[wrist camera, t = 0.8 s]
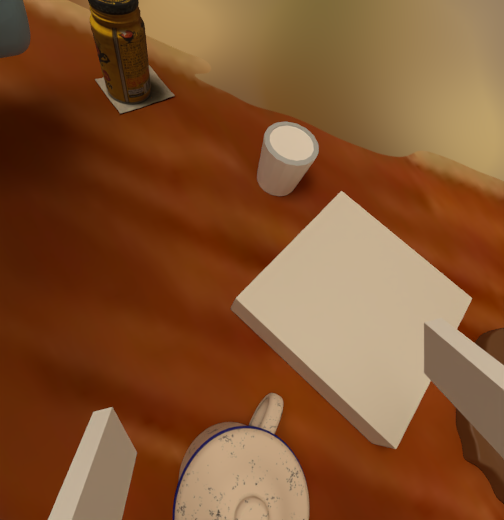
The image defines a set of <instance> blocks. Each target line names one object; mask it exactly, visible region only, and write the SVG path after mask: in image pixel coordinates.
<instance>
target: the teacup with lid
mask: <svg viewBox="0 0 504 520" xmlns="http://www.w3.org/2000/svg"><path fill="white" fill-rule="evenodd" d="M282 411H283V399H282V398H281V397H280V396H279V395H277V394H275V393H270V394H268V395H267V396H265V397H264V399H263V400H262V401H261V402H260V404H259V405H258V407H257V409H256V411H255V412H254V414H253V417H252V419H251V421H250V423H249V425H248V426H247V425H244V424H241V423H237V422H223V423H219V424H216V425H213V426H211V427H209V428H208V429H206V430H205V431H203V432H202V433H201V434H200V435H198V437H197V438H196V439H195V440H194V441H193V442H192V444H191V445H190V446H189V448H188V450H187V452H186V454H185V456H184V458H183V461H182V464H181V468H180V473H179V482H178V485H177V489H176V493H175V498H174V505H173V520H309V495H308V488H307V483H306V479H305V476H304V473H303V470H302V468H301V465H300V463H299V461H298V459H297V458H296V456H295V455H294V453H293V452H292V450H291V449H290V448H289V447H288V445H287V444H286V443H285V442H284V441H283V440H281V439H280V438H279V437H278V436H276V435H275V432H276V429H277V427H278V424H279V422H280V419H281V415H282Z"/></svg>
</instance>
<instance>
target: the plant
mask: <svg viewBox="0 0 504 520" xmlns="http://www.w3.org/2000/svg"><path fill="white" fill-rule="evenodd" d="M475 344H476V345H478V346H479V347H480V348H482V349H483V350H484V351H486V352H487V353H488V354H490V355H491V356H492V357H493V358H495V359H496V360H497V361H499V362H500V363H501V364H503V365H504V328H500V329H495V330H491V331H488V332H486V333H484V334H482V335H481V336H479V338H478V339H477V340H476V343H475ZM456 427H457V431H458V433H459V436H460V439H461V443H462V449H463V456H464V459H465V460H467V461H468V462H470V463H472V464H474V465H476V466H477V467H478V468H479V469H480V470H481V471H482V472H483V473H484V474H485V476H486V477H487V479H488V480H489V482H490V484H491V486H492V489H493V491H494V493H495V495H496V497H497V498H498V499H499V500H500V501H501V502H502V503H504V459H503V458H502V457H501V455H500V454H499V453H498V452H497V451H496V450H495V449H494V448H493V447H492V446H491V445H490V444H489V442H488V441H487V440H486V439H485V438H484V437H483V436H482V435H481V434H480V433H479V432H478V431H477V430H476V428H475V427H474V426H473V425H472V424H471V423H470V422H469V421H468V420H467V419H466V418H465V417H464V415H463V414H462V413H461V412H460V411H459V410H458V409H457V408H456Z"/></svg>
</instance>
